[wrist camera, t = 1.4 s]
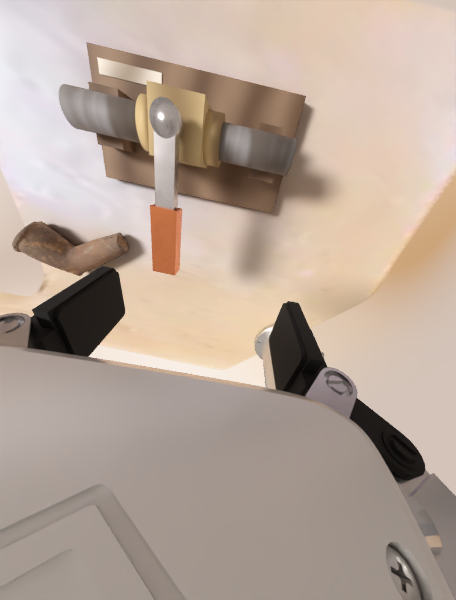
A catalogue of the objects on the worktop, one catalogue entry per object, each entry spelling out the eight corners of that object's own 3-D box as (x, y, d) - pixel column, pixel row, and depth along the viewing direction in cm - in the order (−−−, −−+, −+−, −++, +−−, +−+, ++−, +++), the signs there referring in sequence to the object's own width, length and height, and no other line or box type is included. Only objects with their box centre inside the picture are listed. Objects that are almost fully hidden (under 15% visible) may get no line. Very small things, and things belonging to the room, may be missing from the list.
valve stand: (302, 101, 22) (342, 46, 13) (270, 211, 28) (282, 225, 19) (96, 50, 21) (-14, -46, 12) (113, 177, 27) (50, 175, 18)
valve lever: (186, 107, 15) (180, 99, 14) (179, 269, 23) (174, 275, 22) (155, 100, 15) (145, 91, 14) (158, 264, 23) (153, 270, 22)
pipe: (126, 262, 30) (70, 198, 23) (54, 291, 34) (-9, 243, 28) (140, 245, 34) (97, 187, 28) (76, 272, 39) (26, 227, 32)
